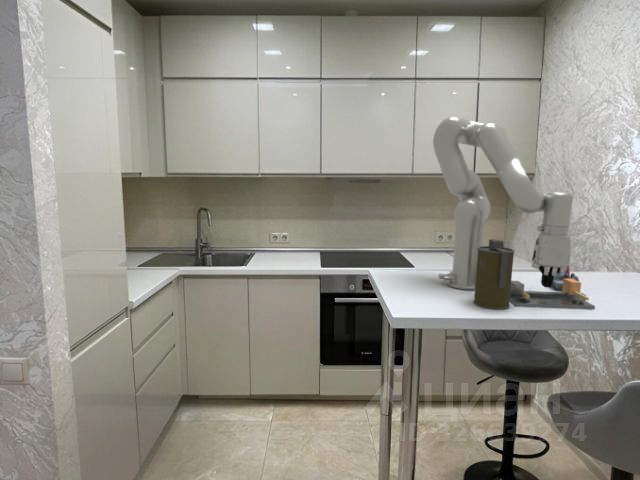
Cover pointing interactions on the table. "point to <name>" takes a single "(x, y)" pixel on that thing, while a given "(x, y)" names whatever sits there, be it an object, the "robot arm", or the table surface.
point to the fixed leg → (518, 289)
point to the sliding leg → (573, 288)
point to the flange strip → (551, 303)
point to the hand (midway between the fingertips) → (546, 286)
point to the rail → (547, 295)
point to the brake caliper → (563, 275)
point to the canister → (493, 275)
